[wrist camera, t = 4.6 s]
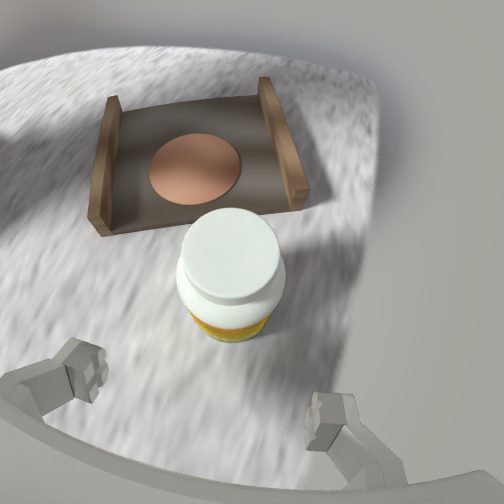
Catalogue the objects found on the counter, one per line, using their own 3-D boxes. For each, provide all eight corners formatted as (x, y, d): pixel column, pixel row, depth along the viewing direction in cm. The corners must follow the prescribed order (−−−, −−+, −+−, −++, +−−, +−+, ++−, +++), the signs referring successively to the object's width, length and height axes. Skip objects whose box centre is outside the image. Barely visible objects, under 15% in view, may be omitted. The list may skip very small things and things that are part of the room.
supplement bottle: (192, 270, 22) (168, 194, 13) (267, 267, 22) (289, 190, 14) (192, 346, 20) (161, 316, 11) (273, 342, 20) (305, 311, 12)
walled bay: (301, 210, 25) (309, 188, 22) (101, 236, 23) (87, 218, 20) (266, 99, 30) (269, 77, 27) (114, 118, 28) (107, 97, 25)
